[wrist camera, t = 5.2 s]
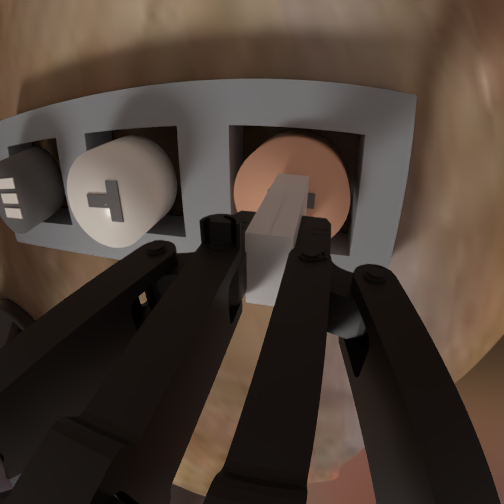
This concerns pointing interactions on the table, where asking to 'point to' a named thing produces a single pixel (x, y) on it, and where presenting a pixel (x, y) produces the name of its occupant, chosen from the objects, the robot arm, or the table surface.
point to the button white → (121, 189)
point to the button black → (29, 189)
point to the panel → (231, 152)
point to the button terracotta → (298, 163)
